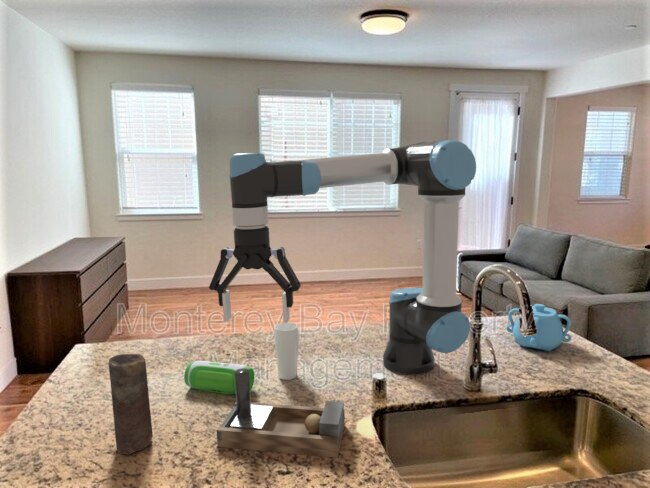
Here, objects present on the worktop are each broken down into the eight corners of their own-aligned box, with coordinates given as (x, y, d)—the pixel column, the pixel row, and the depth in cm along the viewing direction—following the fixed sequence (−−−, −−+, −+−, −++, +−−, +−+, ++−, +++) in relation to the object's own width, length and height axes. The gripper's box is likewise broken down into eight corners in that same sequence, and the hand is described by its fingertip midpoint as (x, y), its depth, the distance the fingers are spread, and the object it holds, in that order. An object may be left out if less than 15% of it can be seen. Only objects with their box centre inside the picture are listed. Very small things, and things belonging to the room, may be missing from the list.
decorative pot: (576, 353, 143) (579, 311, 141) (527, 355, 142) (530, 313, 139) (546, 334, 159) (549, 296, 157) (501, 336, 158) (504, 298, 155)
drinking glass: (296, 383, 126) (294, 331, 123) (272, 381, 127) (270, 329, 125) (302, 372, 132) (301, 322, 130) (279, 370, 134) (278, 321, 131)
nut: (303, 416, 102) (314, 429, 102) (299, 426, 98) (311, 440, 98) (316, 407, 101) (328, 420, 101) (313, 416, 97) (325, 431, 98)
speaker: (256, 387, 124) (254, 361, 123) (244, 400, 117) (243, 373, 116) (198, 380, 129) (196, 355, 127) (183, 392, 122) (182, 366, 120)
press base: (344, 425, 105) (344, 399, 104) (337, 457, 94) (337, 428, 93) (237, 416, 110) (235, 391, 108) (217, 446, 98) (215, 418, 97)
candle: (123, 435, 102) (115, 351, 99) (157, 433, 103) (150, 349, 100) (111, 457, 95) (101, 366, 91) (147, 454, 95) (139, 365, 92)
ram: (273, 415, 106) (271, 364, 104) (262, 438, 98) (259, 382, 95) (244, 413, 107) (241, 362, 105) (230, 435, 99) (227, 380, 96)
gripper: (311, 223, 100) (314, 315, 104) (203, 224, 104) (210, 313, 108) (304, 228, 93) (308, 327, 96) (188, 229, 96) (197, 324, 100)
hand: (256, 320), depth 102 cm, fingers open, 13 cm apart
